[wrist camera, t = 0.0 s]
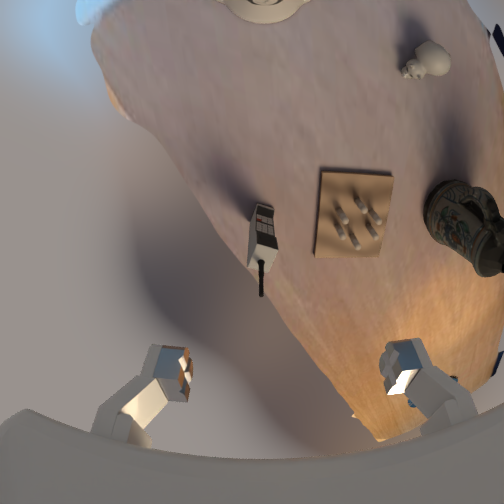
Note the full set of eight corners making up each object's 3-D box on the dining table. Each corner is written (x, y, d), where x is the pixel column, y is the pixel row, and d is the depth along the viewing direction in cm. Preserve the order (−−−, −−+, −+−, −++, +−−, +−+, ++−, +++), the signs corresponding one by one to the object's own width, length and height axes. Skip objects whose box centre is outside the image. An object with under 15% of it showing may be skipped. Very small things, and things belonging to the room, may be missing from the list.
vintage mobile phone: (274, 207, 59) (282, 283, 38) (266, 227, 61) (269, 308, 40) (257, 202, 58) (255, 275, 37) (249, 222, 61) (244, 302, 40)
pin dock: (321, 170, 54) (328, 180, 49) (392, 175, 54) (404, 185, 48) (313, 254, 65) (318, 270, 60) (376, 254, 64) (385, 269, 59)
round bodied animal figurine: (388, 58, 42) (393, 62, 37) (430, 35, 34) (442, 37, 29) (407, 86, 45) (415, 94, 39) (449, 64, 37) (462, 70, 31)
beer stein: (442, 248, 63) (491, 311, 42) (402, 207, 57) (460, 272, 36) (479, 203, 55) (538, 255, 34) (444, 155, 50) (517, 200, 29)
